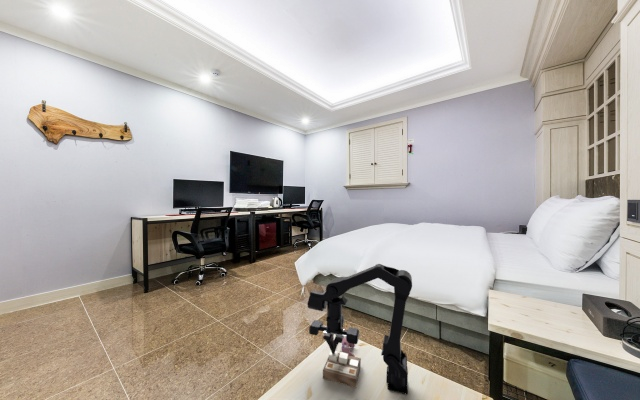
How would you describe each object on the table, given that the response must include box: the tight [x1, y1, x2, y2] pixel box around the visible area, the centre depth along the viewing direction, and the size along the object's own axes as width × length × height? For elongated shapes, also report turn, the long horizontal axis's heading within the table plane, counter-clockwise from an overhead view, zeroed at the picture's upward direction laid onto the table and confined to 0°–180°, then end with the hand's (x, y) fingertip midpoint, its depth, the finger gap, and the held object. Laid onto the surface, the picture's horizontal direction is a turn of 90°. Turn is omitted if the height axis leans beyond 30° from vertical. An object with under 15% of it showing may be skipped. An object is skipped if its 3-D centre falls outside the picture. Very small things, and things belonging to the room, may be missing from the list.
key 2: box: [349, 359, 359, 368], centre depth 85 cm, size 3×3×2 cm
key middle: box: [339, 351, 348, 365], centre depth 86 cm, size 3×3×2 cm
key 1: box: [328, 349, 339, 362], centre depth 87 cm, size 3×3×2 cm
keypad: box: [322, 352, 362, 389], centre depth 84 cm, size 12×11×3 cm
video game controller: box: [341, 336, 356, 357], centre depth 94 cm, size 10×5×7 cm, turn 175°
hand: (333, 353), depth 87 cm, fingers closed, pressing on key 1
